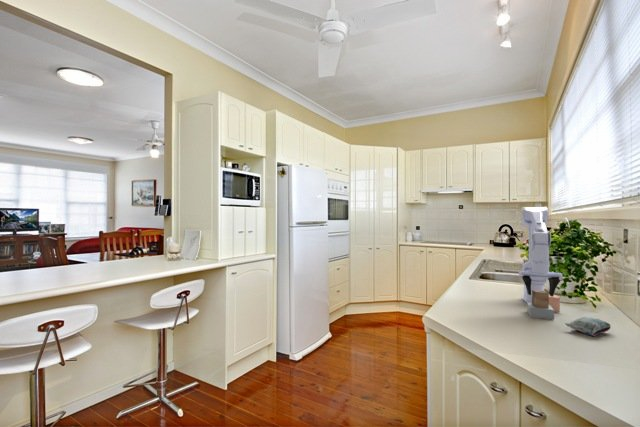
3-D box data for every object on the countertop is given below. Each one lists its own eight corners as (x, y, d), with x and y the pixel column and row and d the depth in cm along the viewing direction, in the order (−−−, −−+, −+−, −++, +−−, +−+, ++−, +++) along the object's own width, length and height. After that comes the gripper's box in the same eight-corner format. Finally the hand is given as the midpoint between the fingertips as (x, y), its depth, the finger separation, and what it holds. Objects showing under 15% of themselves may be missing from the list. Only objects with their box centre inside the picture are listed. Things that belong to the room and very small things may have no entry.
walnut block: (531, 304, 134) (531, 289, 134) (544, 305, 132) (544, 290, 132) (535, 307, 129) (535, 292, 129) (548, 308, 128) (548, 293, 128)
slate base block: (527, 312, 136) (527, 302, 136) (550, 314, 133) (550, 305, 133) (529, 317, 129) (529, 307, 129) (554, 320, 126) (554, 310, 126)
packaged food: (565, 331, 114) (565, 317, 114) (582, 325, 119) (582, 312, 119) (595, 340, 106) (595, 325, 106) (612, 334, 111) (612, 319, 111)
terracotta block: (543, 308, 141) (543, 294, 141) (555, 309, 140) (555, 295, 140) (547, 311, 137) (547, 296, 137) (559, 312, 135) (559, 297, 135)
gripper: (522, 261, 129) (522, 296, 129) (565, 263, 125) (565, 299, 125) (517, 259, 136) (517, 291, 136) (558, 261, 132) (558, 294, 132)
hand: (540, 295), depth 131 cm, fingers open, 7 cm apart
